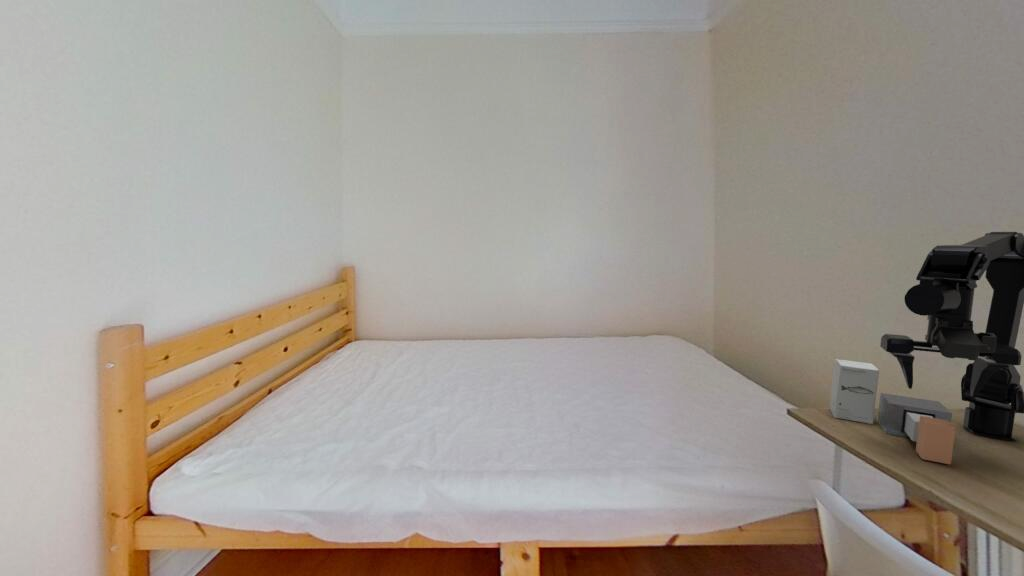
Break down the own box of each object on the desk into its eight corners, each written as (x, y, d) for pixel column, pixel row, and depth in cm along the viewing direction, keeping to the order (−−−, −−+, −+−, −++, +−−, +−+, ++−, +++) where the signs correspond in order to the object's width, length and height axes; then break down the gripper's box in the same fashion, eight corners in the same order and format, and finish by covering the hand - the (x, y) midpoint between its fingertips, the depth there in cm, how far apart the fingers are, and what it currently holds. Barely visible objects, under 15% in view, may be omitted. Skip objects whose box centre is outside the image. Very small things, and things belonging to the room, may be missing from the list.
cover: (928, 439, 94) (933, 406, 93) (950, 464, 83) (955, 427, 82) (903, 435, 96) (907, 402, 95) (921, 459, 85) (926, 422, 84)
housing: (934, 430, 99) (938, 401, 99) (948, 444, 92) (952, 413, 92) (877, 420, 104) (880, 392, 103) (885, 433, 97) (889, 403, 96)
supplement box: (833, 418, 105) (839, 364, 103) (828, 408, 111) (834, 357, 110) (873, 425, 101) (880, 369, 100) (866, 414, 108) (872, 362, 107)
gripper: (898, 313, 83) (889, 396, 85) (1044, 324, 75) (1031, 415, 76) (883, 306, 93) (876, 380, 95) (1010, 314, 84) (1000, 395, 86)
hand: (940, 392), depth 88 cm, fingers open, 9 cm apart
